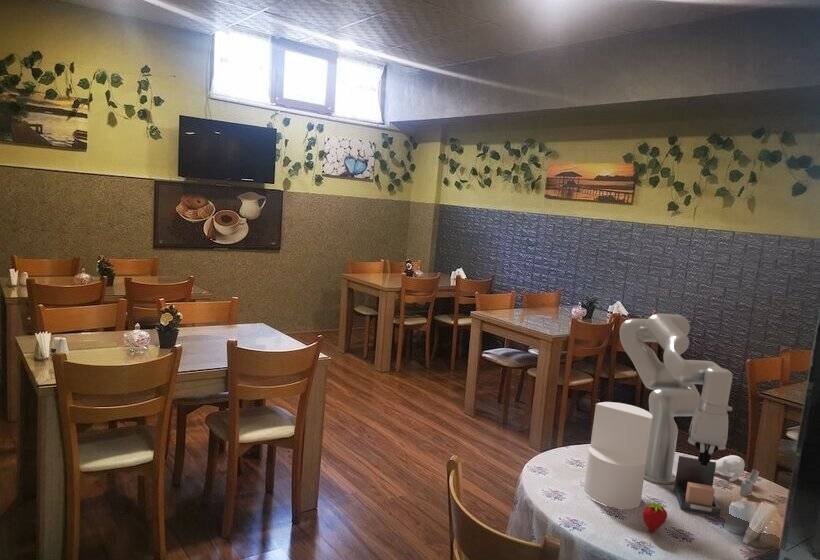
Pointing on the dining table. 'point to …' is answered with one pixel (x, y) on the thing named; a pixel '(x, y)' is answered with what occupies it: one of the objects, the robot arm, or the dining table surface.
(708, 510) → the rack
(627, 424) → the cylinder
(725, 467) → the white rounded lump
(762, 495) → the dining table surface
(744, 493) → the lighter
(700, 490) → the cardboard box
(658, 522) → the strawberry
